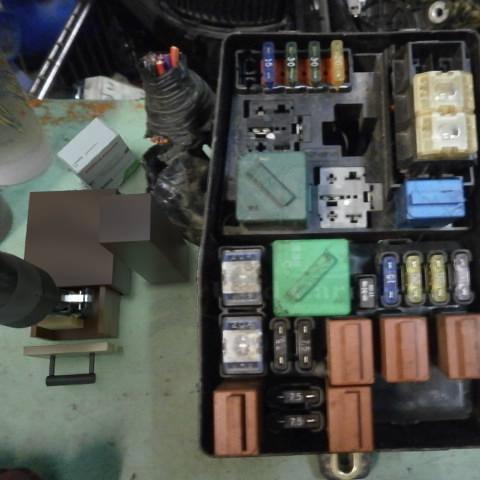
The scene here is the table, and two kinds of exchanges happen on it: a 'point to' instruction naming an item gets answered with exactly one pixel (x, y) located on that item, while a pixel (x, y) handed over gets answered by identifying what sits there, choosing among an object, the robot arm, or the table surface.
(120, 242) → the post
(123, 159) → the ink box
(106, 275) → the cabinet
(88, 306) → the robot arm
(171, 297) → the table surface
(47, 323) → the block
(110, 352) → the drawer
